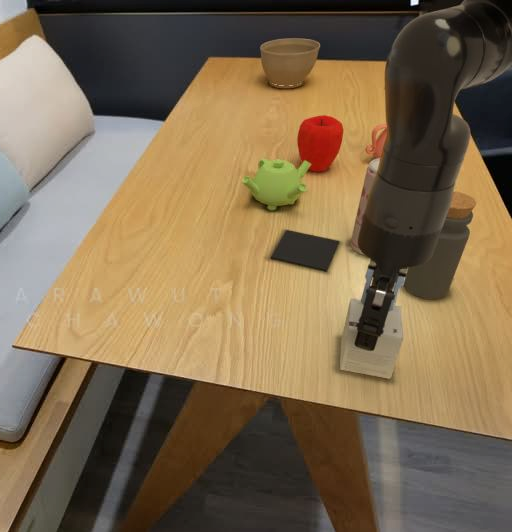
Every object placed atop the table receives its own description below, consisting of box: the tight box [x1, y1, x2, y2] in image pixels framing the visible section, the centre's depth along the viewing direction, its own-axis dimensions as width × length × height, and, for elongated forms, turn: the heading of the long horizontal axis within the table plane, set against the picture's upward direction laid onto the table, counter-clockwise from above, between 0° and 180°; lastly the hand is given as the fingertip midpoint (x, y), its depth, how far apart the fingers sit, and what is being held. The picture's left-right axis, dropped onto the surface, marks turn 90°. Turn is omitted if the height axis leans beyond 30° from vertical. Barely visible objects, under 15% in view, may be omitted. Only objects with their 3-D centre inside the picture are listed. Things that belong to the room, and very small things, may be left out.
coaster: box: [270, 229, 340, 273], centre depth 88 cm, size 9×9×1 cm
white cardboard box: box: [339, 298, 404, 380], centre depth 66 cm, size 6×6×7 cm
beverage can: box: [349, 158, 380, 256], centre depth 83 cm, size 6×6×15 cm
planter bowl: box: [259, 37, 321, 89], centre depth 151 cm, size 16×16×11 cm
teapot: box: [241, 158, 311, 211], centre depth 99 cm, size 11×12×8 cm
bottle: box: [403, 191, 477, 300], centre depth 73 cm, size 6×6×15 cm
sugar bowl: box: [364, 123, 387, 159], centre depth 106 cm, size 12×14×10 cm
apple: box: [296, 114, 345, 173], centre depth 108 cm, size 9×9×11 cm
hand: (370, 324), depth 65 cm, fingers open, 8 cm apart
